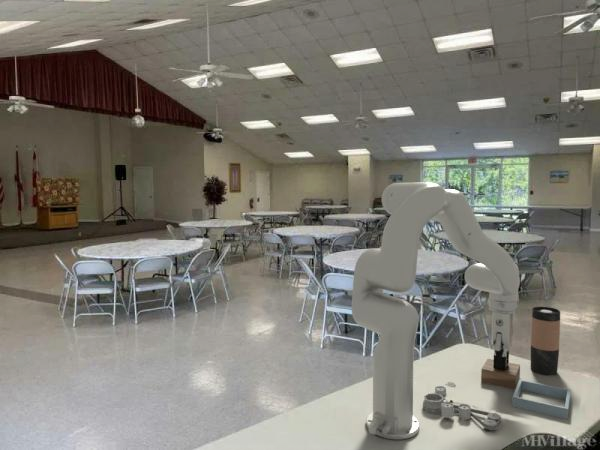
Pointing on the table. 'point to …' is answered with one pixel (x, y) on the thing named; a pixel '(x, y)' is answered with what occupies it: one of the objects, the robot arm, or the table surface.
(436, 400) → the pulley system
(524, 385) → the pin tray
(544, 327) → the travel mug
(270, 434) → the table surface
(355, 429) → the table surface
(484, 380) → the block
